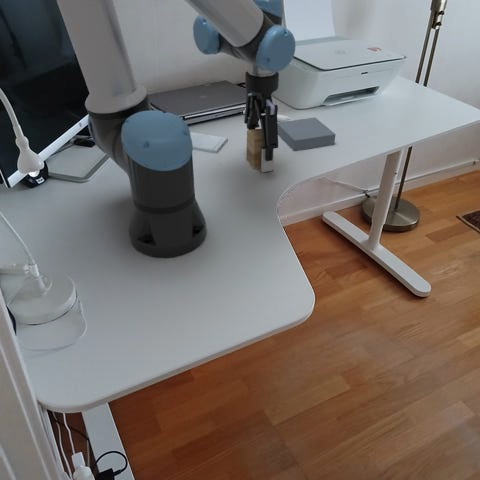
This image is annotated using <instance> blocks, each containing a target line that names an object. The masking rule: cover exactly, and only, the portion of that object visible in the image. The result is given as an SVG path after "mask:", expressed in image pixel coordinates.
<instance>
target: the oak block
mask: <svg viewBox="0 0 480 480" xmlns="http://www.w3.org/2000/svg"><path fill="white" fill-rule="evenodd" d="M263 146H264V144H263V137H262V130H261V128H255V130H248V129H247V130H246V161H247V162H248V164H249V165H250V166H251V168H252V169H261V161H262V149H261V147H263Z"/></svg>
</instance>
